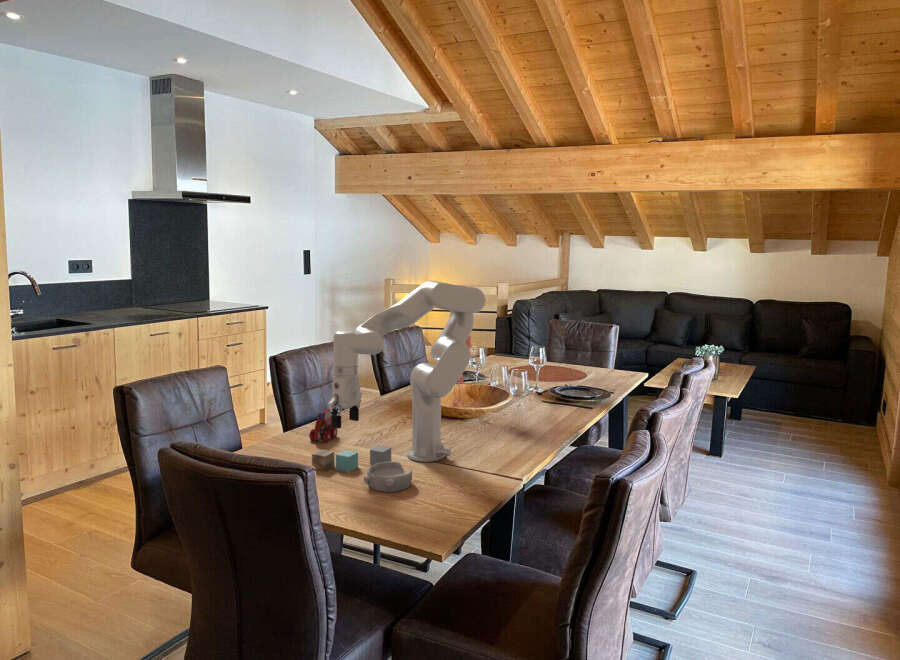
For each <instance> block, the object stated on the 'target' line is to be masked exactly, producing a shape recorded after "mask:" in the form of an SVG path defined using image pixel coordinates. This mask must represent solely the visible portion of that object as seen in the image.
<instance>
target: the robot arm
mask: <svg viewBox="0 0 900 660" xmlns="http://www.w3.org/2000/svg"><path fill="white" fill-rule="evenodd" d="M485 305H486V296H485V294H484V292H483V291H482V290H481V289H480V288H478V287H475V286H467V285H462V284H453V283H452V284H451V283H448V282H442V281H436V280H428V281H425V282H424V283H422V284H421V285H419V286H418V287H417V288H415V289H414V290H413V291H411V292H410V293H409V294H407V296H405V297H403V298H402V299H401V300H400V301H398V302H397V303H395V304H394V305H392V306H390V307H388V308H386V309H384V310H383V311H380V312H378V313H376V314H374V315H372V316H371V317H370V318H368V319H367V320H365V322H363V323H362V324H360V325H359V326H358V327H356V329H355V330H338V331H336V332H334V334H333V378H332V385H331V386H332V387H331V399H330V401H328V403H327V407H328V408H329V411H330V414H331V415H332V427H334V428H337V429H342V415H341V413H342V411H343V409H344V410H347V409H349V415H348V416H349V417H348V418H349V420H350V421H353V422H358V421H359V420H360V418H359V417H360V416H359V415H360V414H359V413H360V408H361V405H360V404H361V402H362V400H361V399H362V397H363V393H362V391H361V381H360V374H359V355H369V356H375V355H377V354H380V353H381V352H382V351H383V350H384V348H385V345H386V343H385V342H386V341H385V338H384V336H385V335H386V334H388V333H391V332H392V331H395V330H400V329H405V328H408V327H411V326H413V325H415V324H416V323H417V322H418V321H420V320H421V319H422V318H424V317H425V316H426V315H428V313H430V312H431V311H433V310H434V309H439V310H444V311H449V319H448V321H447V322H446V324H445V326H444V328H443V329H442V331H441V332H440V334H439V335H438V337H437V339H436V340H435V341H434V343H433V345H432V347H431V349H430V355H431V358H432V359H433V361H434V362H436V364H435V365H434V364H432V363H428V362H421V363H419V364H417V365H416V366H414V367H413V369H412V370H411V373H410V379H409V380H410V381H409V383H410V389H411V399H412V412H411V413H412V417H411V418H412V420H411V421H412V424H411V427H412V428H411V429H412V432H411V433H412V435H411V436H412V438H411V440H412V441H411V442H412V443H411V444H412V449H410V450H409V451H408V452H407V458H408V459H410V460H412V461H415V462H423V463H430V462H438V461H440V460H443V459H445V457H446V456H447V457H450V456H451V454H452V449H451V448H450V447H445V446H444V442H441V440H442V439H441V438H442V436H441V435H442V434H441V433H442V432H441V430H442V399H441V398H445V397H446V396H447V395H449V394H450V392H452V390H454V387H455V386H456V385H457V384H458V382H459V381H458V380H459V378H460V377H461V375H462V376H463V374H464V372H465V370H466V369H467V367H468V365H469V364H470V363H469V362H470V360H471V359H470V358H471V351H470V350H471V349H469V347H468V346H467V345H466V344H465V342H466V340H467V338H468V337H469V336H471V333H472V331H473V329H474V328H473V327H474V324H475V321H474V314H476V313H479V312H481V311H482V310H483V308H484V307H485ZM462 373H463V374H462ZM337 409H338V410H337Z"/></svg>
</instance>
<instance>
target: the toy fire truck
mask: <svg viewBox="0 0 900 660" xmlns="http://www.w3.org/2000/svg"><path fill="white" fill-rule="evenodd" d="M317 417H318V418H317V419H316V422H315V425H314V428H312V429H311V430H310V432H309V440H310V441H313V440H315V441H320V440H322V441H324V442H325V443H328V442H330V441H331V439H335V438H336V437H337V435H338V428H334V427H332V415H331V414H330V411H329V407H328V408H326V409H325V410H323V411H322V412H320V413H318V415H317Z"/></svg>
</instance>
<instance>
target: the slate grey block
mask: <svg viewBox="0 0 900 660" xmlns="http://www.w3.org/2000/svg"><path fill="white" fill-rule="evenodd" d="M390 461H392V447H388V446H383V445H376V446H375V447H372V448H371V449H369V464H371V466H372V465H375V464H376V463H381V462H390Z"/></svg>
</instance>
